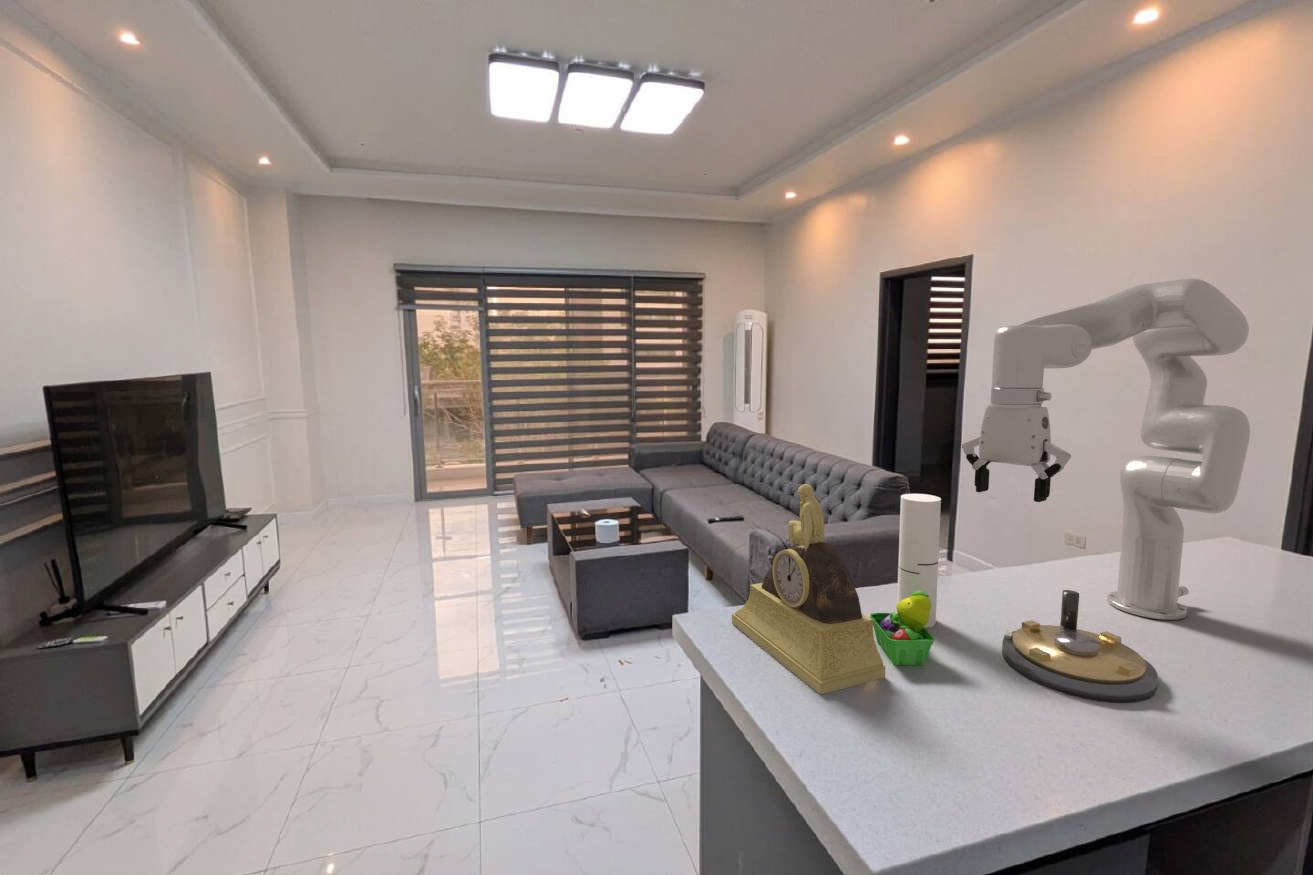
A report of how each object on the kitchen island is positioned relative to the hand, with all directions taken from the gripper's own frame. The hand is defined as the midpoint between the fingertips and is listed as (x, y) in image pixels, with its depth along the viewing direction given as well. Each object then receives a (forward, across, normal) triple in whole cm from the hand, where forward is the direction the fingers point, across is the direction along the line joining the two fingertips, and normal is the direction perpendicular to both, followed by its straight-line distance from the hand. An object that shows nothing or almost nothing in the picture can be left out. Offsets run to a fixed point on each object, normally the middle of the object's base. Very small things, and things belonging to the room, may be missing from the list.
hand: (1010, 495), depth 103 cm
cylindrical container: (+28, +15, +2) cm, 32 cm away
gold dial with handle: (+25, -11, -2) cm, 28 cm away
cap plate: (+28, -11, -2) cm, 30 cm away
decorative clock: (+28, +20, +30) cm, 46 cm away
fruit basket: (+28, +9, +17) cm, 34 cm away
